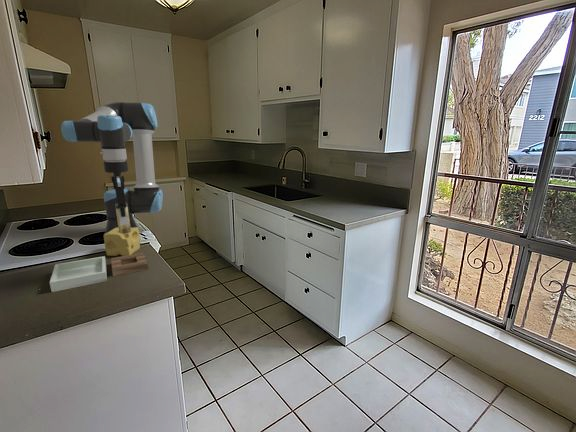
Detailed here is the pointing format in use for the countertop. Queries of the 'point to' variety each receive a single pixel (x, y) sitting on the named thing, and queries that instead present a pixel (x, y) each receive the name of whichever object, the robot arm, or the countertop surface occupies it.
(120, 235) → the cheese
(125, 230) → the brown and black cylinder
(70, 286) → the tray
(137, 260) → the pin block
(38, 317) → the countertop surface
